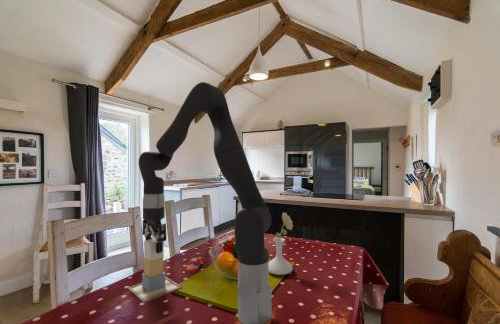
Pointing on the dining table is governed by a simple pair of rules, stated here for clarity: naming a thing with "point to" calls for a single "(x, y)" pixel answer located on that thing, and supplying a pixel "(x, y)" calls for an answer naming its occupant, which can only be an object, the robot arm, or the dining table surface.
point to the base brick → (153, 282)
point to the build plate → (147, 296)
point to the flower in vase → (279, 263)
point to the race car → (193, 265)
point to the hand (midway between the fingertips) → (153, 249)
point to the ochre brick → (153, 267)
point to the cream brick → (152, 250)
